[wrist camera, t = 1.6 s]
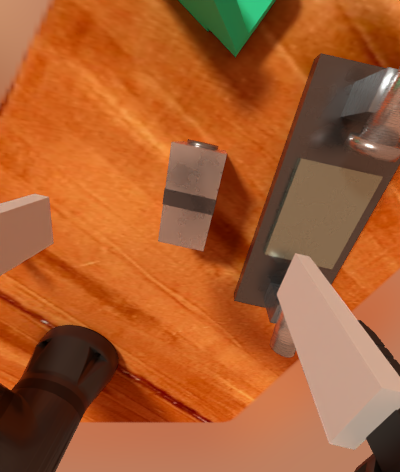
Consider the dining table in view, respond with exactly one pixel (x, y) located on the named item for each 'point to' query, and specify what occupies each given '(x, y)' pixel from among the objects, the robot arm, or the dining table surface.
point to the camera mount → (229, 18)
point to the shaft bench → (324, 180)
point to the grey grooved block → (190, 193)
